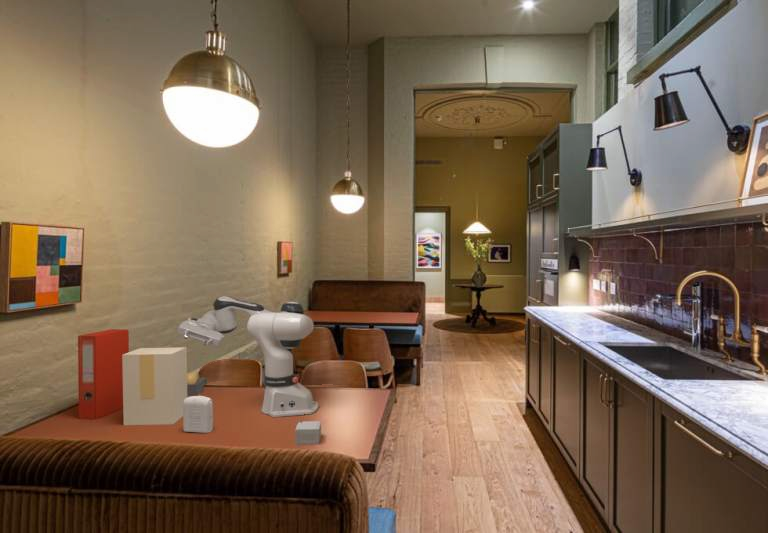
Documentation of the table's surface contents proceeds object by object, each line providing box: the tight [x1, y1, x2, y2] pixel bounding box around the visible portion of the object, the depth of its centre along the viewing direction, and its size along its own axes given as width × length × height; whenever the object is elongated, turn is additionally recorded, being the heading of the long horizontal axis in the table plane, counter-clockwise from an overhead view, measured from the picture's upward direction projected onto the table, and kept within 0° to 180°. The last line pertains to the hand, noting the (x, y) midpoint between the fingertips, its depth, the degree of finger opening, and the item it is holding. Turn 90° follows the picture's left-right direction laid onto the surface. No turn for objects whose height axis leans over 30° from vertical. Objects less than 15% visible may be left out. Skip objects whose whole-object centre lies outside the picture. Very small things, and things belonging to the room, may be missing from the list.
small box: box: [294, 420, 322, 446], centre depth 152 cm, size 8×8×5 cm
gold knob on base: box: [187, 371, 208, 396], centre depth 214 cm, size 21×8×10 cm, turn 3°
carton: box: [122, 346, 188, 426], centre depth 174 cm, size 18×13×26 cm
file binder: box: [77, 328, 130, 421], centre depth 183 cm, size 8×17×32 cm, turn 170°
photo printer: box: [182, 395, 214, 434], centre depth 161 cm, size 10×4×12 cm, turn 81°
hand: (195, 341), depth 210 cm, fingers open, 8 cm apart
